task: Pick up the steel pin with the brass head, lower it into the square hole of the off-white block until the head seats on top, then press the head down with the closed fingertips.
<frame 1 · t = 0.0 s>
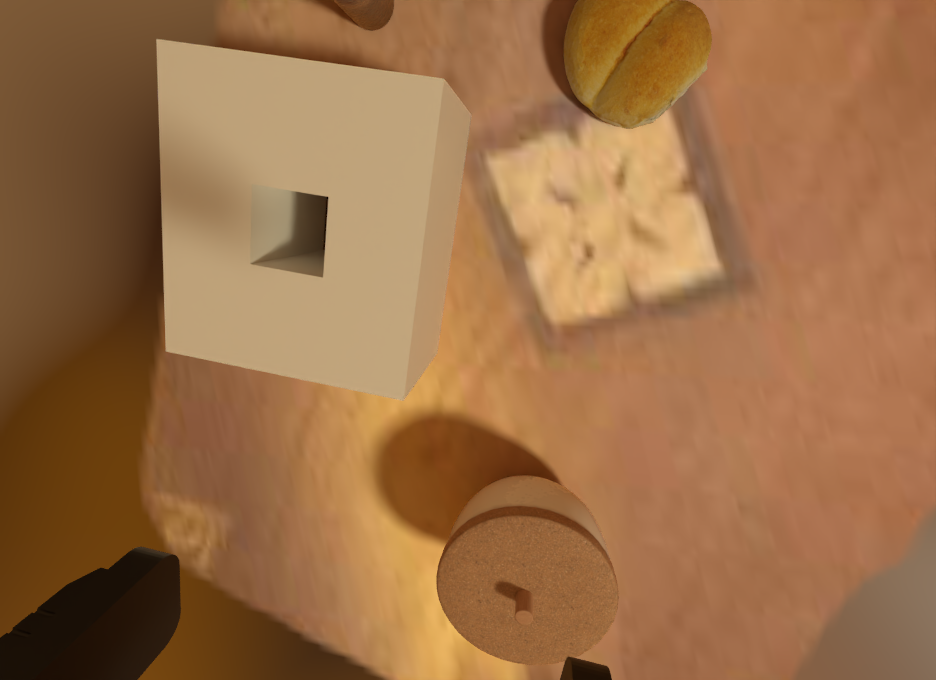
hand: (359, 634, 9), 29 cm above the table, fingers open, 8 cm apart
brass-head pin: (371, 4, 33), on the table
pin block: (352, 225, 37), on the table
bread roll: (630, 56, 32), on the table
lidded bowl: (528, 512, 42), on the table
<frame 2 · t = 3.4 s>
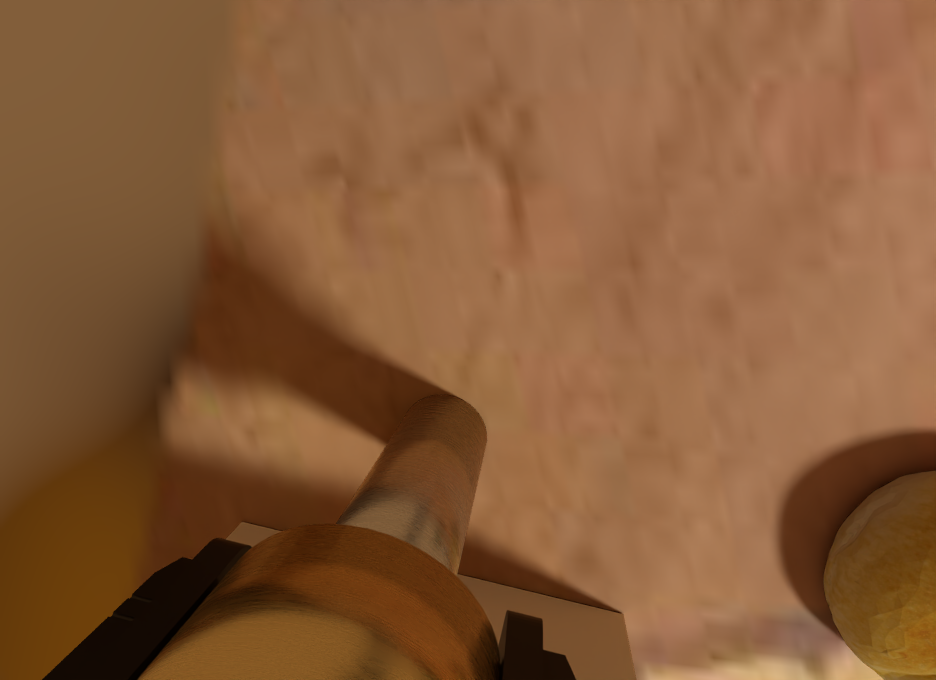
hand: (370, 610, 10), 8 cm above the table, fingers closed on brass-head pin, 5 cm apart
brass-head pin: (444, 434, 18), on the table, touching gripper
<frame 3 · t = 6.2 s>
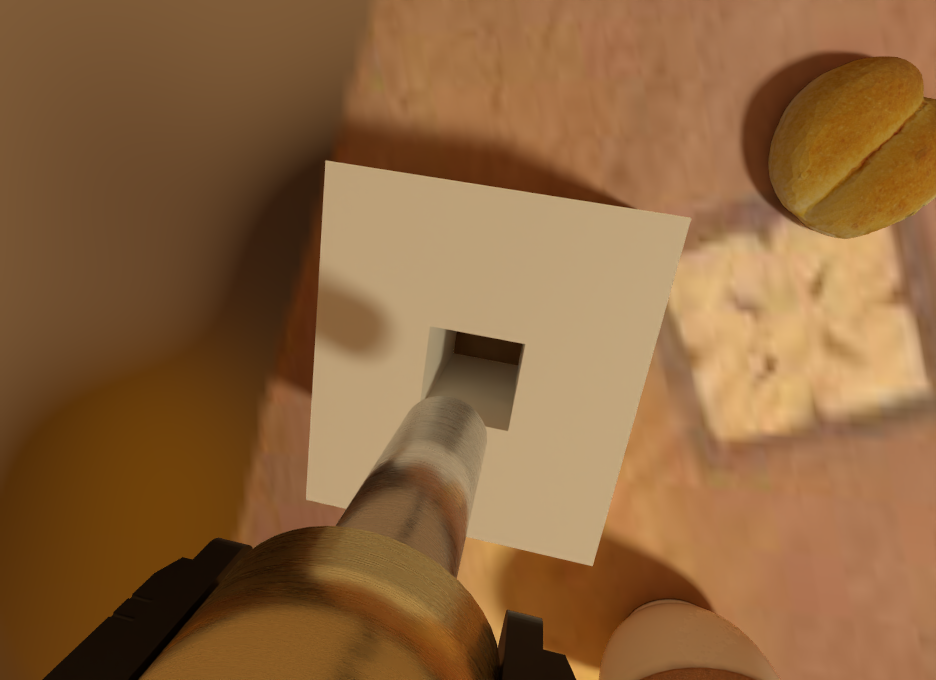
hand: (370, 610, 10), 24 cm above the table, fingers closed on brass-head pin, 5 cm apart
brass-head pin: (444, 436, 18), point 16 cm above the table, touching gripper
pin block: (491, 328, 33), on the table
bread roll: (846, 154, 27), on the table
lidded bowl: (669, 633, 38), on the table
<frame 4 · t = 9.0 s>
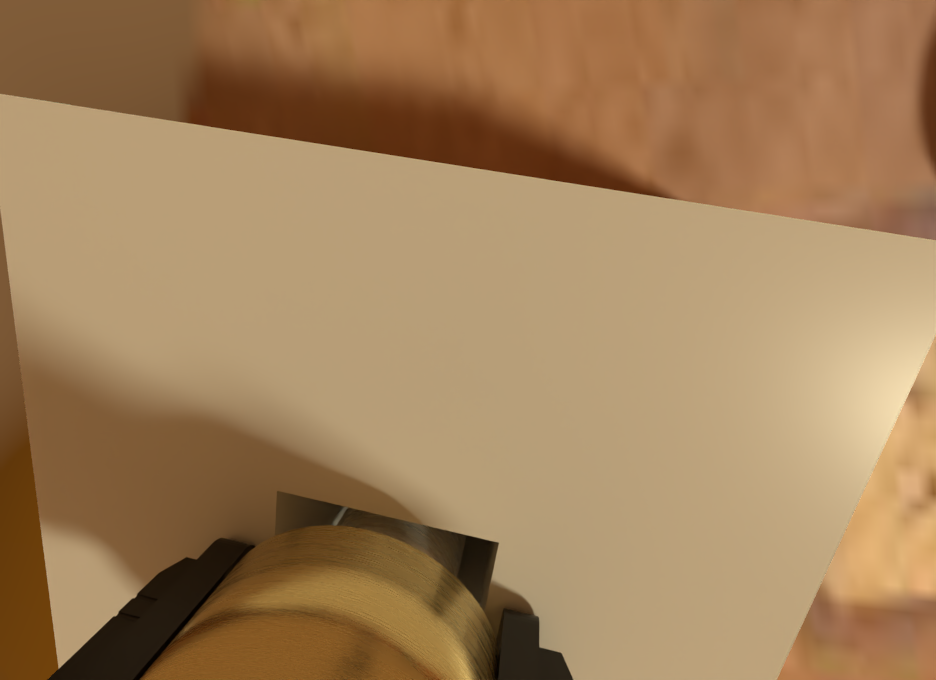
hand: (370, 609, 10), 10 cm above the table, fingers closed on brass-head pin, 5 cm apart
brass-head pin: (444, 435, 18), point 2 cm above the table, touching gripper
pin block: (455, 412, 20), on the table
when the fingers open (10 cm above the table, at t = 9.3 s): brass-head pin drops 1 cm, resting on pin block.
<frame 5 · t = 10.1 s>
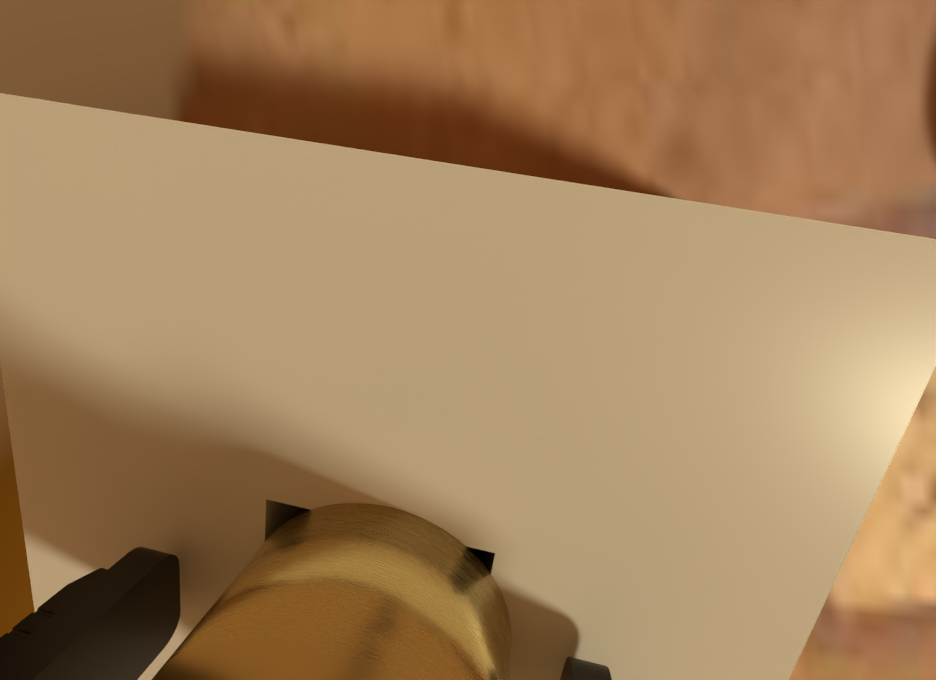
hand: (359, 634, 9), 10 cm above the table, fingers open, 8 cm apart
brass-head pin: (452, 428, 18), point 1 cm above the table, touching pin block
pin block: (452, 416, 19), on the table
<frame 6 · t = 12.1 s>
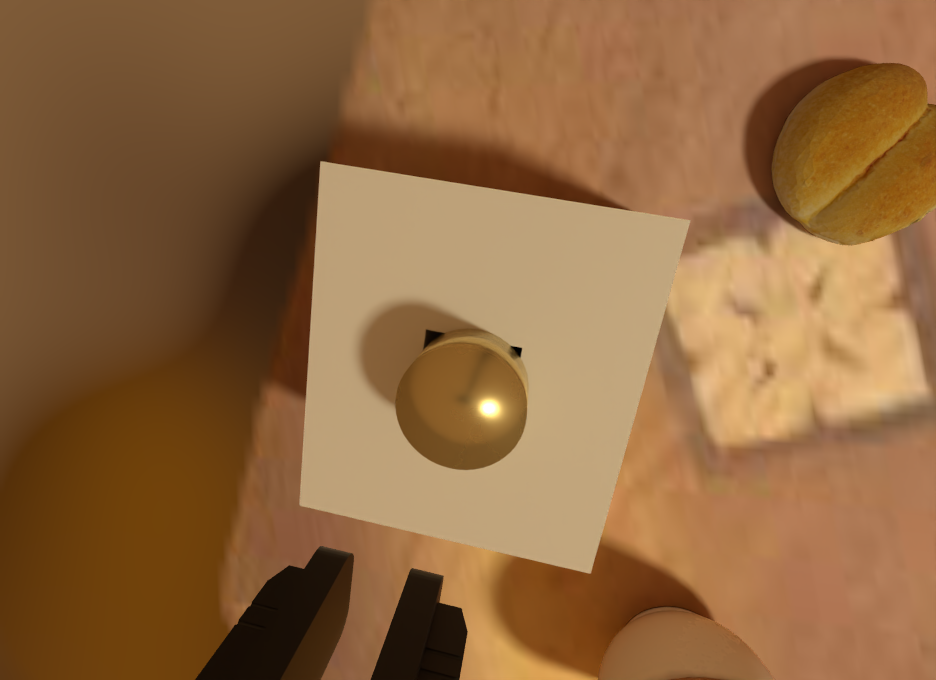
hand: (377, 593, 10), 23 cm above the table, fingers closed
brass-head pin: (489, 336, 31), point 1 cm above the table, touching pin block
pin block: (488, 331, 32), on the table
bread roll: (849, 161, 27), on the table
lidded bowl: (668, 641, 37), on the table
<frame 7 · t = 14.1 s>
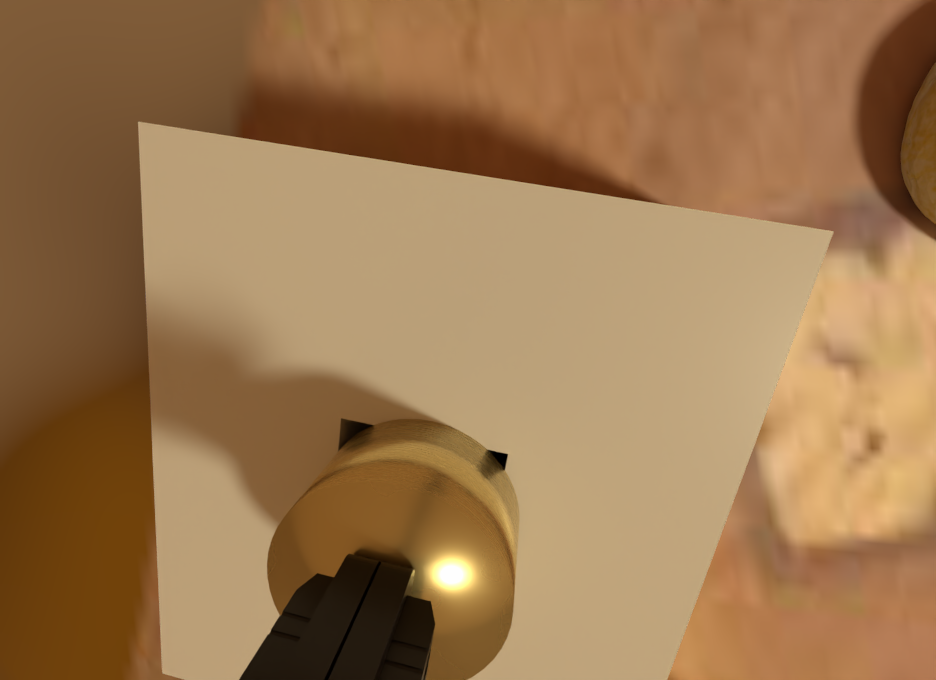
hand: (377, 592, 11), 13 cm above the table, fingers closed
brass-head pin: (467, 391, 22), point 1 cm above the table, touching gripper, pin block
pin block: (466, 382, 23), on the table
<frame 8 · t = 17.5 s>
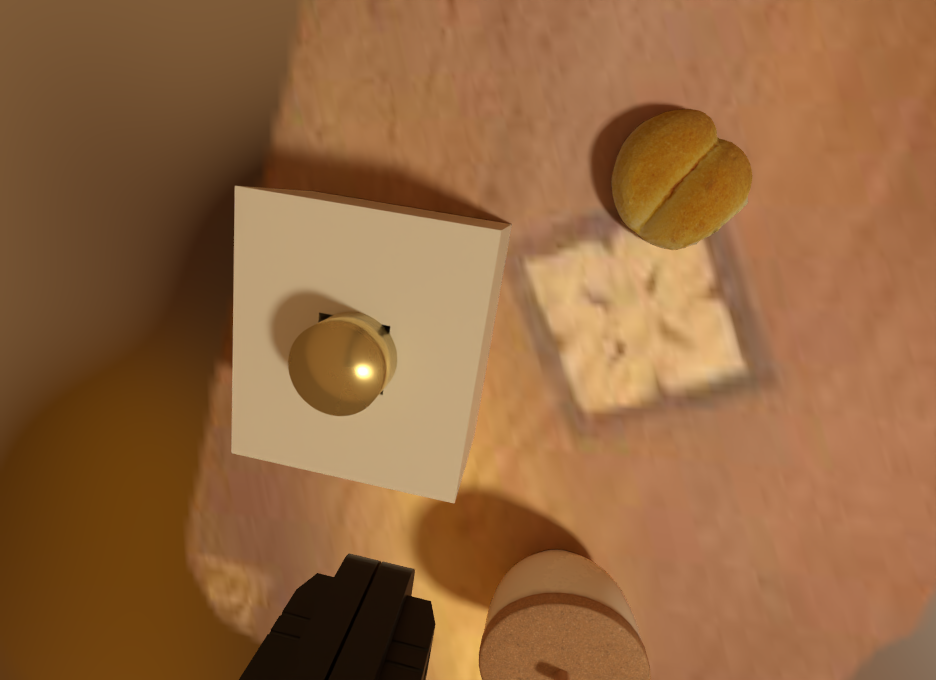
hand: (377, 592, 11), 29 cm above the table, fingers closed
brass-head pin: (395, 322, 39), point 1 cm above the table, touching pin block
pin block: (397, 318, 40), on the table
bread roll: (673, 183, 34), on the table
lidded bowl: (558, 580, 44), on the table
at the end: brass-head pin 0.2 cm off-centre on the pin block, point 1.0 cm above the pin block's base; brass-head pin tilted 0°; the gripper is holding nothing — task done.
